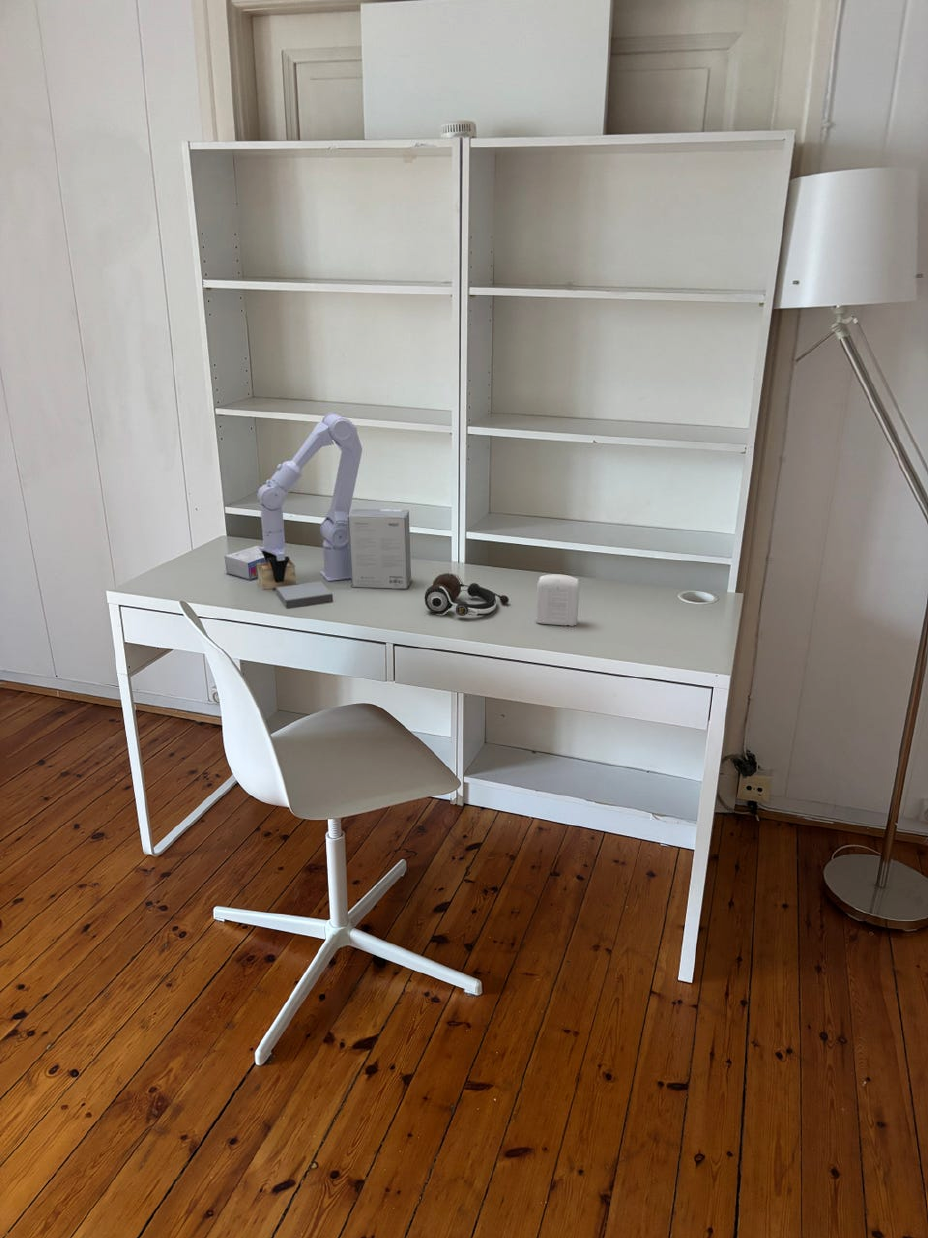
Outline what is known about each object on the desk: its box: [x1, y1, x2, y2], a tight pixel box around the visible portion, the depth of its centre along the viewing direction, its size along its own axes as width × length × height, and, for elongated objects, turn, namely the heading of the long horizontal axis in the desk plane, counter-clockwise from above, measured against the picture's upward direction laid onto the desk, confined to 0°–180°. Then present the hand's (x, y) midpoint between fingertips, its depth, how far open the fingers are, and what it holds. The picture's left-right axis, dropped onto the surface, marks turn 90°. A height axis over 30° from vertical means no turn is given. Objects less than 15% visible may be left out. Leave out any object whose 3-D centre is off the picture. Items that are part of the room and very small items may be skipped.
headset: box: [424, 572, 510, 617], centre depth 228 cm, size 17×8×20 cm
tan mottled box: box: [257, 559, 297, 590], centre depth 243 cm, size 9×5×6 cm, turn 115°
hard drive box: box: [348, 508, 412, 590], centre depth 241 cm, size 16×8×20 cm, turn 84°
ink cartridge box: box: [224, 545, 266, 581], centre depth 253 cm, size 10×6×14 cm
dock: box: [275, 581, 334, 609], centre depth 234 cm, size 12×11×2 cm
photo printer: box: [534, 573, 581, 627], centre depth 218 cm, size 10×4×12 cm, turn 81°
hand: (276, 578), depth 243 cm, fingers open, 5 cm apart
